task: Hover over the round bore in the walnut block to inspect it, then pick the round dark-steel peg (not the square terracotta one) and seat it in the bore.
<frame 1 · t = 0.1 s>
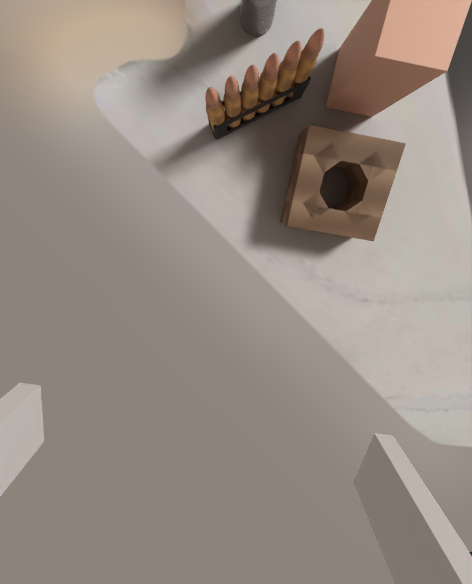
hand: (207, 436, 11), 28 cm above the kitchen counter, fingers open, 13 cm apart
ammunition clip: (254, 111, 32), on the kitchen counter
round peg: (256, 16, 29), on the kitchen counter
bore block: (328, 188, 34), on the kitchen counter
square peg: (356, 84, 31), on the kitchen counter
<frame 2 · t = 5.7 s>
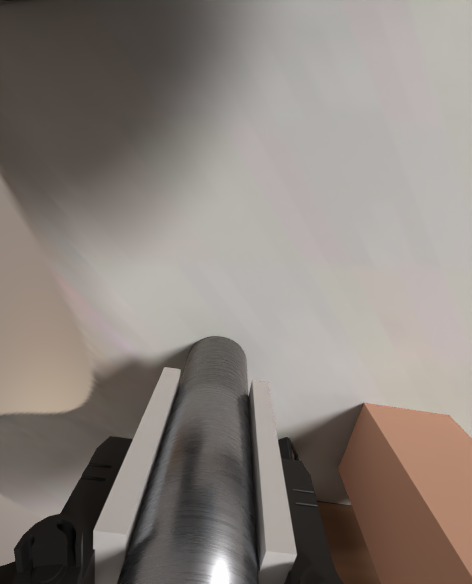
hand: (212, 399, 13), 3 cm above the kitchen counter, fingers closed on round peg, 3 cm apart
ammunition clip: (219, 467, 19), on the kitchen counter
round peg: (217, 362, 16), on the kitchen counter, touching gripper
bore block: (342, 551, 21), on the kitchen counter
square peg: (391, 443, 18), on the kitchen counter
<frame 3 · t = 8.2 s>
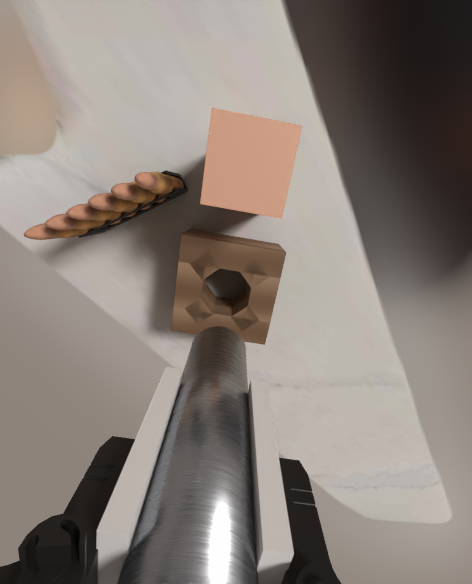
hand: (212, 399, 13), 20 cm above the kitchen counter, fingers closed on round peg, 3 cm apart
ammunition clip: (140, 204, 30), on the kitchen counter
round peg: (218, 351, 17), point 16 cm above the kitchen counter, touching gripper
bore block: (227, 279, 32), on the kitchen counter
square peg: (244, 179, 29), on the kitchen counter
when the fingers open (7 cm above the kitchen counter, at t = 10.8 s): round peg drops 3 cm, resting in bore block.
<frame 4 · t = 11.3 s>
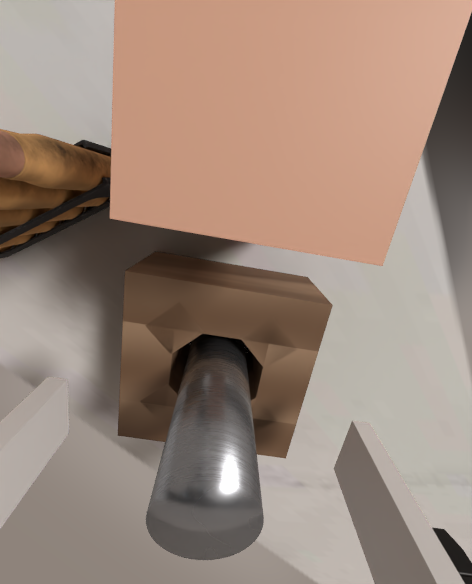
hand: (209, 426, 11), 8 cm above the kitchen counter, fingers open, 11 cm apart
ammunition clip: (67, 209, 17), on the kitchen counter
round peg: (219, 333, 19), resting in bore block
bore block: (220, 332, 19), on the kitchen counter
square peg: (249, 164, 16), on the kitchen counter
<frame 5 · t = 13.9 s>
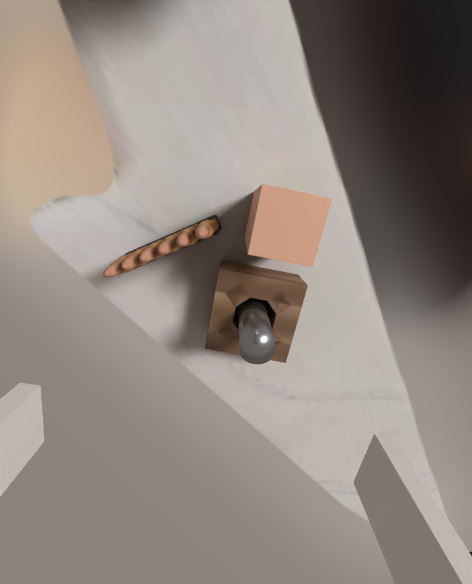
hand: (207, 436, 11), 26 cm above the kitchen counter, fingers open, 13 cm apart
ammunition clip: (180, 238, 34), on the kitchen counter
round peg: (251, 303, 37), resting in bore block
bore block: (252, 303, 37), on the kitchen counter
square peg: (270, 219, 33), on the kitchen counter
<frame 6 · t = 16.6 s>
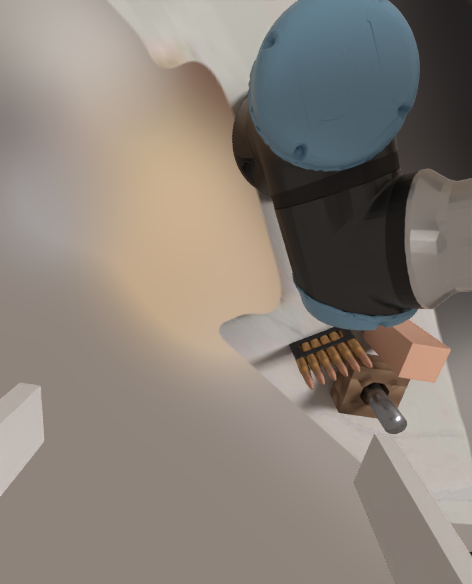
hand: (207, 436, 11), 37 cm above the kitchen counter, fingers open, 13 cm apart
ammunition clip: (317, 337, 51), on the kitchen counter
round peg: (361, 376, 53), resting in bore block
bore block: (362, 376, 53), on the kitchen counter
square peg: (381, 325, 50), on the kitchen counter
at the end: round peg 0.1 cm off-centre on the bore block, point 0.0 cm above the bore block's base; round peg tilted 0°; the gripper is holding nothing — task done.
